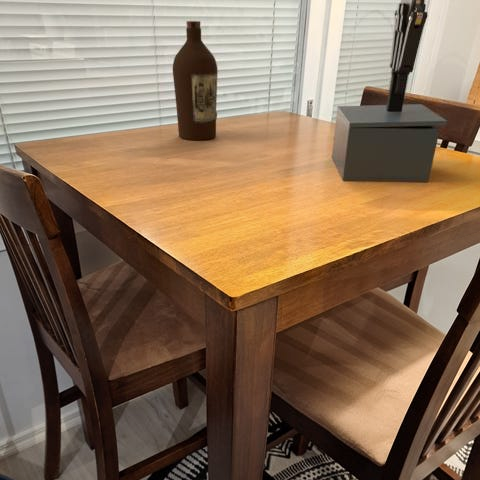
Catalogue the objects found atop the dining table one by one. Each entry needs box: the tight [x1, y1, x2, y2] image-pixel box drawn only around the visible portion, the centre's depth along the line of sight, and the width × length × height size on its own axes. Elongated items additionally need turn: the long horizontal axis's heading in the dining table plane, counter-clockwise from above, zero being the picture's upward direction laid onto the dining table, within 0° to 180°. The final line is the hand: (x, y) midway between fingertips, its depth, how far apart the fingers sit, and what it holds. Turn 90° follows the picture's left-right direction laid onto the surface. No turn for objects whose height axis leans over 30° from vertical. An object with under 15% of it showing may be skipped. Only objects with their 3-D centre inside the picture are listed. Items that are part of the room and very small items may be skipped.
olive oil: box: [172, 20, 218, 141], centre depth 119 cm, size 11×11×25 cm
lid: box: [336, 103, 448, 128], centre depth 97 cm, size 18×17×1 cm
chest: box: [331, 110, 441, 183], centre depth 100 cm, size 17×17×10 cm
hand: (393, 111), depth 97 cm, fingers closed
